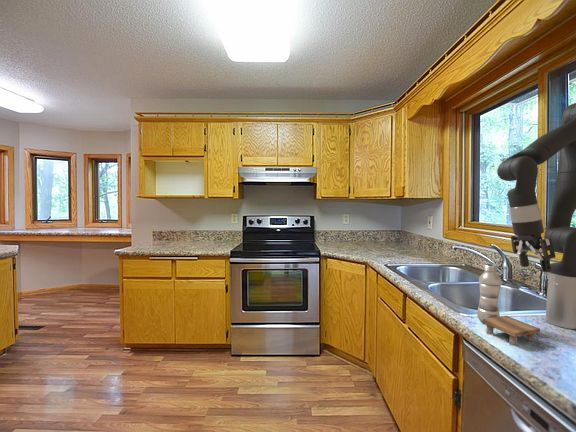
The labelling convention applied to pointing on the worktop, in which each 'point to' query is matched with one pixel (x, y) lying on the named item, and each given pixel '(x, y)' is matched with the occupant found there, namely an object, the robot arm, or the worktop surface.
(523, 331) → the pegged shelf
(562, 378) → the worktop surface
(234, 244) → the worktop surface
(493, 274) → the plastic bottle
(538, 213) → the robot arm
